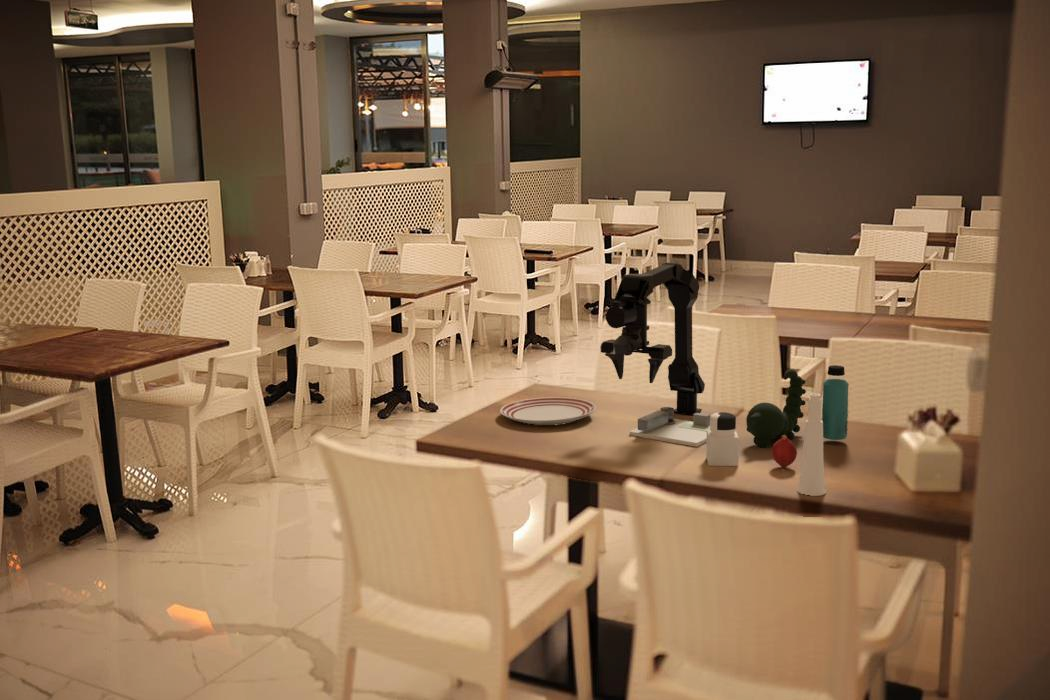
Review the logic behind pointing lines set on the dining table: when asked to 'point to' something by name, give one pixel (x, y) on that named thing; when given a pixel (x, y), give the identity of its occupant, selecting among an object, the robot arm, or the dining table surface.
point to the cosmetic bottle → (813, 451)
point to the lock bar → (656, 419)
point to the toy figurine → (777, 414)
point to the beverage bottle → (835, 405)
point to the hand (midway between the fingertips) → (635, 380)
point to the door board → (680, 431)
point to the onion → (784, 452)
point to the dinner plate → (548, 410)
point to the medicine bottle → (722, 440)
